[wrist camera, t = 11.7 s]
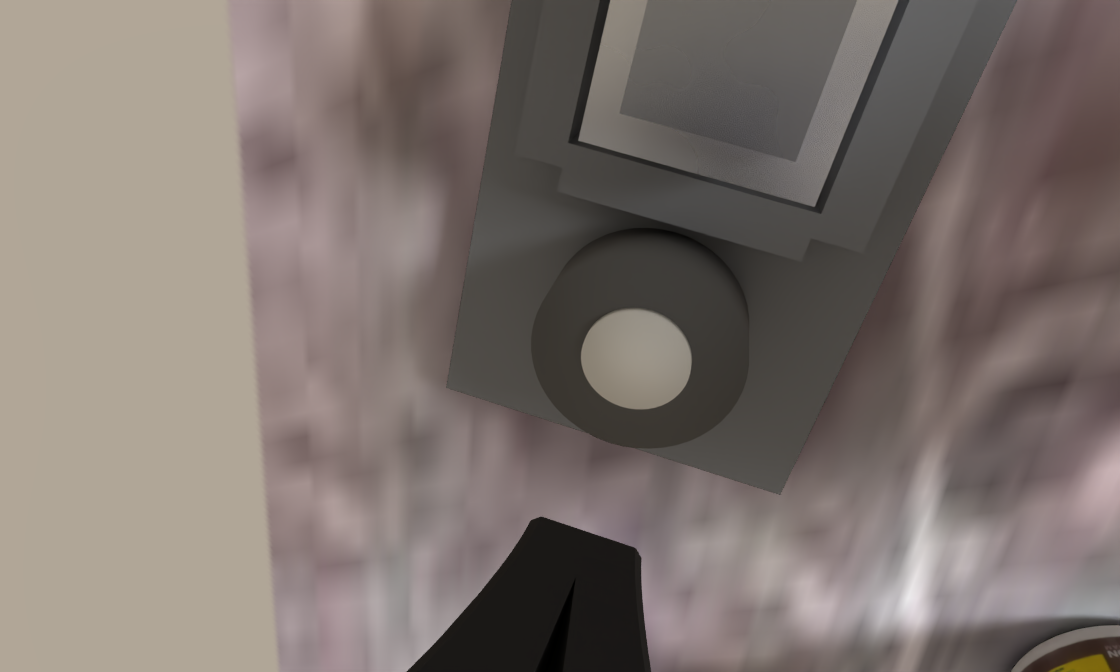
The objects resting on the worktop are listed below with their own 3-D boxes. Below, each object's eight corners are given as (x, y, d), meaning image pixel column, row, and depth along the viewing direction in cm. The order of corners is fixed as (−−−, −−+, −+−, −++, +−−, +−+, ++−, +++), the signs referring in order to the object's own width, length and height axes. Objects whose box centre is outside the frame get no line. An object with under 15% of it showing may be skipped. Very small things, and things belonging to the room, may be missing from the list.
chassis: (1101, -218, 12) (1177, -257, 10) (778, 471, 19) (782, 534, 17) (583, -329, 13) (549, -388, 11) (459, 369, 20) (424, 417, 18)
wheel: (779, 262, 15) (783, 296, 13) (712, 432, 17) (708, 479, 15) (572, 202, 15) (553, 229, 14) (532, 375, 17) (510, 416, 16)
